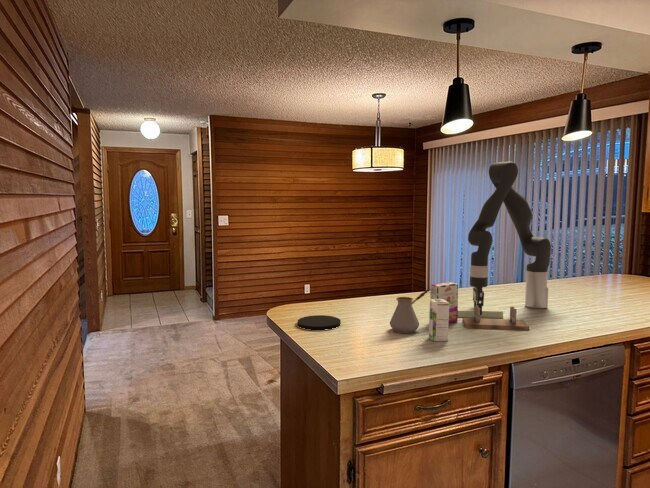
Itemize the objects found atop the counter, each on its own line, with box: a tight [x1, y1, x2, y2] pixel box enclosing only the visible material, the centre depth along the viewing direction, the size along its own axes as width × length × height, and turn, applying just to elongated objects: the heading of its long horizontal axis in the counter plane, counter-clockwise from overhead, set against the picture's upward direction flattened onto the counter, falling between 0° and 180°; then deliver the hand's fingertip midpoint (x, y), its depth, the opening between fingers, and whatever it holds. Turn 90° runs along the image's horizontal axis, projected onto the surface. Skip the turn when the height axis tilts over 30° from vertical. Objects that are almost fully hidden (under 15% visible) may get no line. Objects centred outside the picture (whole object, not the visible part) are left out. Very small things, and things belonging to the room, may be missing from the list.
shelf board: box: [458, 307, 504, 319], centre depth 201 cm, size 20×6×3 cm, turn 84°
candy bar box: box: [429, 281, 459, 324], centre depth 190 cm, size 11×5×16 cm, turn 117°
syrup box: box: [428, 299, 450, 342], centre depth 167 cm, size 6×6×14 cm
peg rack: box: [462, 305, 530, 331], centre depth 185 cm, size 24×10×8 cm, turn 80°
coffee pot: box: [389, 288, 432, 334], centre depth 181 cm, size 21×12×15 cm, turn 128°
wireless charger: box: [297, 314, 342, 331], centre depth 188 cm, size 18×18×2 cm
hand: (477, 312), depth 201 cm, fingers closed on shelf board, 6 cm apart
